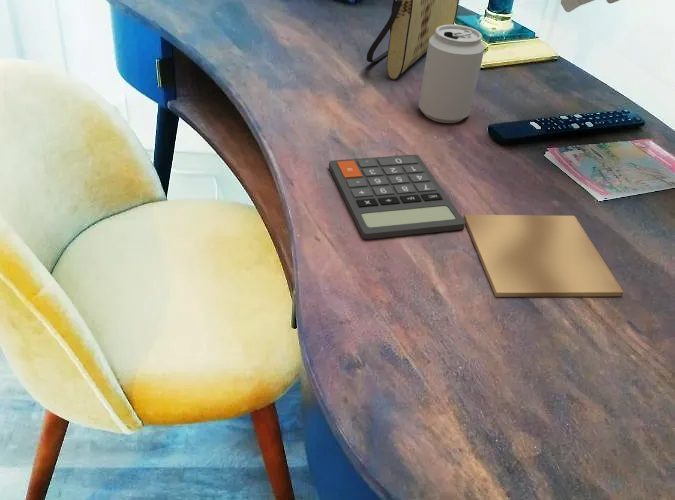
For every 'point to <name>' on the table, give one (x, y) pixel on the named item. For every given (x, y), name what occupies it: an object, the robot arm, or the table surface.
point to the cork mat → (539, 256)
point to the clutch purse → (412, 31)
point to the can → (451, 73)
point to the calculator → (394, 196)
